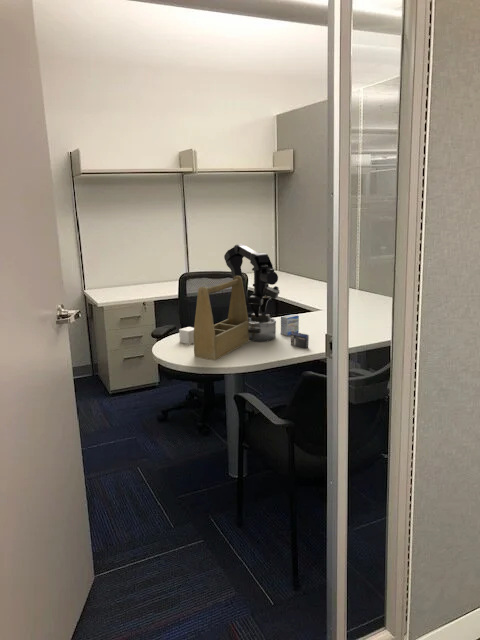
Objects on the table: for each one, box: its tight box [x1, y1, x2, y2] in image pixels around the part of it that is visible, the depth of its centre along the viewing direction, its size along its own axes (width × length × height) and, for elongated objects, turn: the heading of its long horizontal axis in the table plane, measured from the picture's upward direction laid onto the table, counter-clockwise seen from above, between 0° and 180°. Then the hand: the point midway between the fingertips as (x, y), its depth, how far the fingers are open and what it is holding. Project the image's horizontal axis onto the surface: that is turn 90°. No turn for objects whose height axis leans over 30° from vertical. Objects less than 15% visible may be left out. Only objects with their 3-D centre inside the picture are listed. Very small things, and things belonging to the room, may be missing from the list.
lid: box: [249, 312, 272, 324], centre depth 235 cm, size 10×10×4 cm
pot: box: [248, 317, 277, 343], centre depth 236 cm, size 14×19×8 cm
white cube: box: [178, 326, 194, 345], centre depth 232 cm, size 6×6×6 cm
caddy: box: [193, 276, 249, 361], centre depth 217 cm, size 29×11×30 cm, turn 151°
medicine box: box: [280, 314, 300, 336], centre depth 242 cm, size 8×4×9 cm, turn 129°
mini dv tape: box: [290, 332, 310, 350], centre depth 222 cm, size 8×2×6 cm, turn 48°
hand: (260, 314), depth 234 cm, fingers open, 9 cm apart
